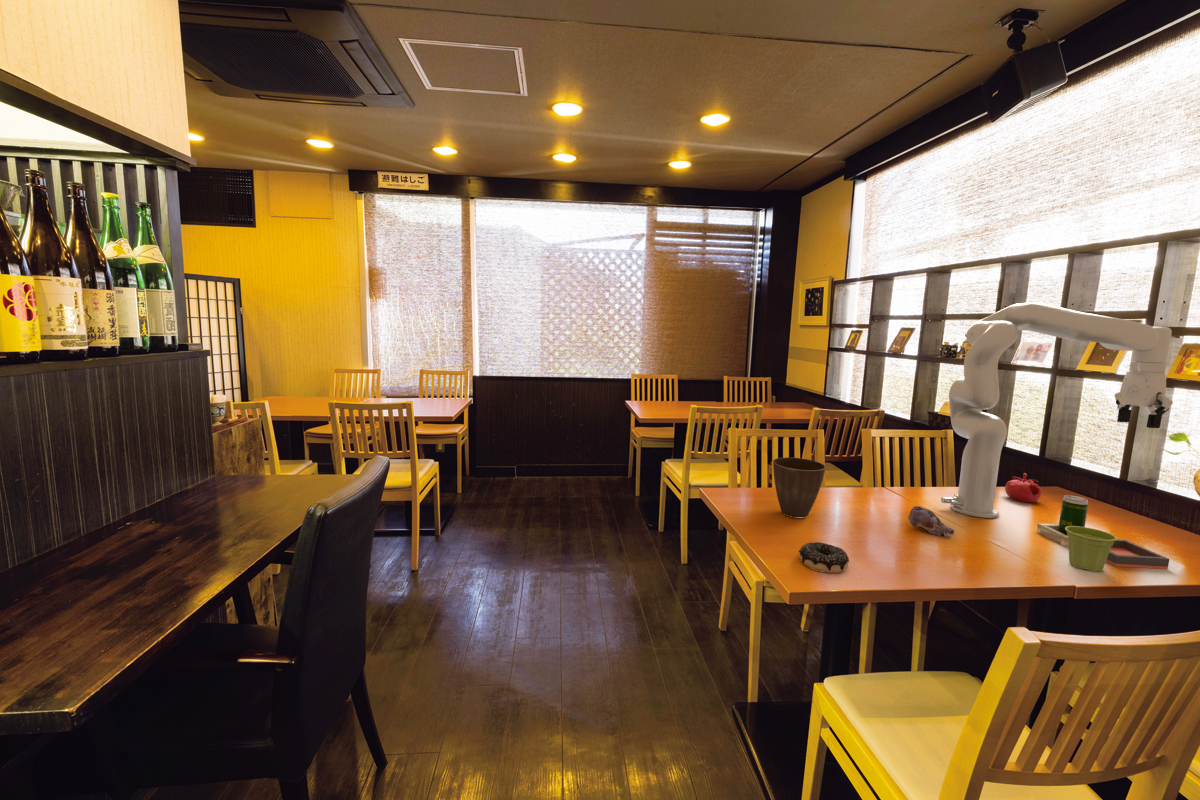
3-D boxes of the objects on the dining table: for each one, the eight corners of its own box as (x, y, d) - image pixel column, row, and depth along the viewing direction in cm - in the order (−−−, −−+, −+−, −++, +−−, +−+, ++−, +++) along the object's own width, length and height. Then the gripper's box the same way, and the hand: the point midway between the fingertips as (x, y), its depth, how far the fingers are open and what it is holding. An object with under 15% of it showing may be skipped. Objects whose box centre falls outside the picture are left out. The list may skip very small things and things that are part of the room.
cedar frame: (1064, 546, 144) (1065, 537, 143) (1036, 531, 154) (1037, 523, 153) (1104, 548, 143) (1106, 539, 142) (1074, 533, 153) (1075, 525, 153)
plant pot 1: (831, 517, 161) (836, 466, 158) (801, 527, 152) (805, 472, 150) (789, 503, 173) (793, 455, 171) (759, 511, 164) (762, 460, 162)
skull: (959, 538, 147) (961, 517, 147) (938, 541, 145) (941, 519, 144) (920, 523, 159) (923, 503, 158) (901, 525, 156) (903, 505, 155)
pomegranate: (1001, 499, 184) (1003, 473, 183) (1007, 494, 191) (1009, 468, 190) (1037, 506, 177) (1040, 479, 176) (1043, 500, 184) (1045, 474, 183)
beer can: (1084, 540, 148) (1090, 498, 146) (1080, 545, 145) (1086, 502, 143) (1059, 534, 152) (1065, 493, 150) (1054, 538, 149) (1060, 497, 147)
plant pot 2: (1050, 558, 135) (1054, 525, 134) (1084, 558, 136) (1089, 525, 135) (1086, 575, 126) (1092, 540, 125) (1122, 575, 127) (1128, 540, 126)
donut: (842, 557, 133) (844, 542, 132) (853, 579, 121) (855, 562, 121) (795, 552, 135) (796, 537, 135) (802, 572, 124) (803, 556, 123)
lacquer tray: (1115, 566, 132) (1116, 556, 131) (1076, 546, 143) (1077, 537, 143) (1167, 569, 131) (1169, 559, 130) (1124, 549, 143) (1125, 539, 142)
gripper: (1108, 365, 168) (1100, 419, 170) (1162, 370, 151) (1151, 429, 153) (1133, 366, 167) (1124, 420, 170) (1190, 371, 150) (1179, 430, 152)
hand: (1137, 424), depth 161 cm, fingers open, 9 cm apart
